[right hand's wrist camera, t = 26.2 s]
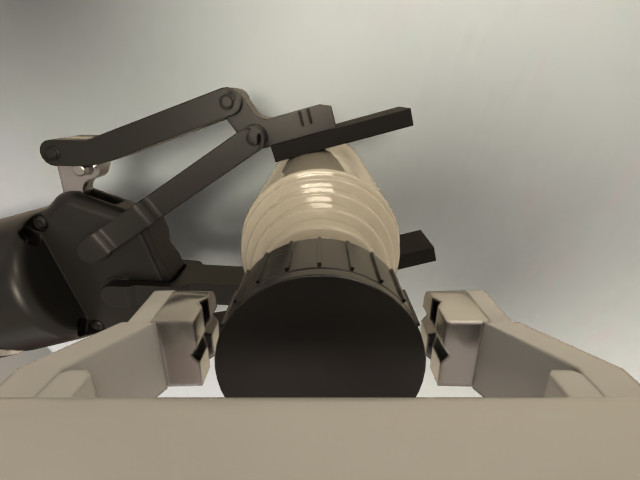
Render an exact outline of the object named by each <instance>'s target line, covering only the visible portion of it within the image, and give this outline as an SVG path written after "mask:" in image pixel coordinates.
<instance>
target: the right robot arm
mask: <svg viewBox="0 0 640 480" xmlns="http://www.w3.org/2000/svg"><path fill="white" fill-rule="evenodd" d="M216 307H217V303H216V296H215V294H214V292H213V291H175V290H163V291H154V292H153V293H152V295H151V296H150V297H149V298H148V299H147V300H146V302H145V303H144V304H143V305H142V306H141V307H140V308H139V310H138V311H137V312H136V313H135V314H134V315H133V317H132V318H131V319H130V320H129V321H128V322H121V323H119V324H116V325H114V326H112V327H110V328H107V329H105V330H103V331H101V332H98V333H96V334H94V335H92V336H89V337H87V338H85V339H83V340H80V341H78V342H76V343H74V344H71V345H69V346H67V347H65V348H63V349H60V350H58V351H56V352H54V353H51V354H49V355H47V356H45V357H42V358H40V359H38V360H36V361H33V362H31V363H29V364H27V365H24V366H22V367H20V368H18V369H17V370H15V371H14V372H13V373H12V374H11V375H10V376H9V377H8V378H6V379H5V380H4V381H3V382H2V383H1V384H0V480H640V384H639V383H638V382H637V381H636V380H635V379H634V378H633V377H632V376H630V375H629V374H628V373H627V372H626V371H625V370H624V369H622V368H620V367H618V366H615V365H613V364H611V363H609V362H606V361H604V360H602V359H600V358H597V357H595V356H593V355H591V354H589V353H586V352H584V351H582V350H580V349H577V348H575V347H573V346H571V345H568V344H566V343H564V342H562V341H559V340H557V339H555V338H553V337H551V336H548V335H546V334H544V333H542V332H539V331H537V330H535V329H533V328H530V327H528V326H526V325H524V324H522V323H519V322H512V321H511V320H510V319H509V318H508V316H507V315H506V314H505V313H504V312H503V311H502V310H501V308H500V307H499V306H498V305H497V304H496V303H495V302H494V300H493V299H492V298H491V297H490V296H489V295H488V293H487V292H486V291H483V290H473V291H466V290H464V291H429V292H426V294H425V297H424V303H423V307H424V309H425V311H426V313H427V315H426V316H425V317H424V319H423V320H422V321H421V335H422V339H423V343H424V346H425V355H426V356H427V357H428V358H430V359H431V364H430V368H431V370H432V373H433V375H434V378H435V380H436V382H437V385H438V386H472V387H473V389H474V390H475V391H477V392H478V393H479V394H480V395H481V396H483V397H195V398H194V397H192V398H191V397H189V398H187V397H186V398H156V397H158V396H159V395H160V394H161V393H162V392H164V391H165V390H166V389H167V387H168V386H202V385H203V383H204V380H205V378H206V375H207V373H208V371H209V368H210V363H209V359H210V358H212V357H213V356H215V350H216V344H217V341H218V337H219V321H218V320H217V318H216V317H215V316H214V315H213V313H214V311H215V309H216Z"/></svg>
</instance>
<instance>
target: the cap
mask: <svg viewBox="0 0 640 480" xmlns="http://www.w3.org/2000/svg"><path fill="white" fill-rule="evenodd" d="M418 326H420V323H419V321H418V319H417V316H416V314H415V312H414V310H413V307H412V305H411V303H410V300H409V298H408V296H407V293H406V291H405V289H404V290H402V288H401V286H400V284H399V281H398V279H397V277H396V274H395V272H394V270H393V269H392V268H391V269H389V267H388V266H387V265H386V264H385V263H384V262H383V261H382V260H380V259H379V258H378V257H377V256H376V255H375V253H374V252H373V251H372V252H369V251H368V250H366V249H364V248H362V247H360V246H358V245H355V244H352V243H350V241H348V240H346V241H341V240H336V239H327V238H321V237H318V238H313V239H305V240H299V241H295V242H293V241H290V242H289V243H288V244H285V245H283V246H281V247H279V248H277V249H275V250H273V251H271V252H270V253H268V252H266V253H265V255H264V257H263V258H261V259H260V260H259V261H258V262H257V263H256V264H255V265H254V266H253V267H252V268H251V269H250V270H249V269H247V271H246V273H245V275H244V277H243V280H242V282H241V284H240V287H239V289H238V291H236V290H235V293H234V295H233V297H232V300H231V302H230V304H229V306H228V309H227V311H226V313H225V315H224V318H223V320H222V322H221V325H220V327H222V329H221V331H220V334H219V337H218V341H217V344H216V350H215V370H216V375H217V380H218V383H219V386H220V388H221V391H222V393H223V395H224V396H225V397H416V396H417V394H418V392H419V390H420V387H421V385H422V382H423V378H424V373H425V366H426V355H425V346H424V343H423V339H422V335H421V333H420V331H419V328H418Z"/></svg>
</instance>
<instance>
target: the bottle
mask: <svg viewBox="0 0 640 480" xmlns="http://www.w3.org/2000/svg"><path fill="white" fill-rule="evenodd" d="M318 237H321V238H327V239H336V240H341V241H346V240H348V241H350V243H352V244H355V245H358V246H360V247H362V248H364V249H366V250H368V251H369V252H372V251H373V252H374V253H375V255H376V256H377V257H378V258H379V259H380V260H382V261H383V262H384V263H385V264H386V265H387V266H388V267H389V269H391V268H392V269H393V270H394V272H395V274H396V272H397V269H398V264H399V259H400V236H399V229H398V225H397V221H396V218H395V216H394V213H393V211H392V210H391V208H390V206H389V204H388V203H387V201H386V200H385V198H384V196H383V195H382V193H381V192H380V190H379V188H378V187H377V185H376V184H375V182H374V180H373V179H372V177H371V176H370V174H369V172H368V171H367V169H366V168H365V166H364V165H363V163H362V161H361V160H360V158H359V157H358V155H357V154H356V153H355V151H354V150H353V149H352V148H351V147H350V146H348V145H347V144H342V145H338V146H335V147H331V148H327V149H323V150H320V151H316V152H312V153H309V154H305V155H301V156H297V157H294V158H290V159H286V160H283V161H280V162H279V163H278V165H277V166H276V168H275V170H274V171H273V173H272V174H271V176H270V177H269V179H268V181H267V182H266V184H265V185H264V187H263V189H262V190H261V192H260V193H259V195H258V196H257V198H256V200H255V201H254V203H253V204H252V206H251V207H250V209H249V211H248V214H247V216H246V218H245V221H244V224H243V229H242V235H241V258H242V265H243V269H244V272H245V273H246V271H247V269H249V270H250V269H251V268H252V267H253V266H254V265H255V264H256V263H257V262H258V261H259V260H260V259H261V258H263V257H264V255H265V253H266V252H268V253H270V252H271V251H273V250H275V249H277V248H279V247H281V246H283V245H285V244H288V243H289V242H290V241H293V242H295V241H299V240H305V239H313V238H318Z"/></svg>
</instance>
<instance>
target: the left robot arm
mask: <svg viewBox="0 0 640 480" xmlns="http://www.w3.org/2000/svg"><path fill="white" fill-rule="evenodd" d="M226 119H227V120H228V121H229V123H230V124H231V125H232V127H233V128H234V129H235V131H236V132H237V133H236V134H235V135H233V136H232V137H230V138H229V139H227V140H226V141H225V142H223V143H222V144H220V145H219V146H218V147H216V148H215V149H213V150H212V151H210V152H209V153H208V154H206V155H205V156H203V157H202V158H201V159H199V160H198V161H196V162H195V163H193V164H192V165H191V166H189V167H188V168H186V169H185V170H184V171H182V172H181V173H179V174H178V175H176V176H175V177H174V178H172V179H171V180H169V181H168V182H167V183H165V184H164V185H162V186H161V187H159V188H158V189H157V190H155V191H154V192H152V193H151V194H150V195H148V196H147V197H145V198H144V199H142V200H141V201H139V202H138V203H134V202H132V201H129V200H126V199H123V198H120V197H117V196H114V195H112V194H109V193H106V192H103V191H100V190H97V189H95V188H93V182H94V180H95V179H96V178H98V177H101V176H104V175H105V174H107V172H108V171H109V166H110V161H113V160H116V159H119V158H122V157H126V156H129V155H132V154H135V153H138V152H140V151H143V150H146V149H148V148H151V147H154V146H156V145H159V144H162V143H164V142H167V141H170V140H172V139H175V138H178V137H180V136H183V135H186V134H188V133H191V132H194V131H196V130H199V129H202V128H204V127H207V126H210V125H212V124H215V123H218V122H220V121H223V120H226ZM409 126H413V120H412V114H411V108H404V107H396V108H393V109H389V110H385V111H382V112H378V113H374V114H371V115H367V116H363V117H360V118H356V119H353V120H349V121H345V122H342V123H338V124H335V120H334V116H333V112H332V108H331V106H328V105H321V104H319V105H316V106H312V107H309V108H305V109H301V110H298V111H294V112H291V113H287V114H284V115H280V116H276V117H266V116H263V115H262V114H260V113H259V112H258V110H257V109H256V108H255V106H254V105H253V103H252V102H251V101H250V99H249V96H248V94H247V93H246V92H245V91H244V90H242V89H238V88H229V87H225V88H220V89H218V90H215V91H213V92H210V93H207V94H205V95H202V96H200V97H197V98H194V99H192V100H189V101H187V102H184V103H182V104H179V105H176V106H174V107H171V108H169V109H166V110H163V111H161V112H158V113H156V114H153V115H151V116H148V117H145V118H143V119H140V120H138V121H135V122H132V123H130V124H127V125H125V126H122V127H119V128H117V129H114V130H112V131H109V132H107V133H104V134H101V135H77V136H71V137H64V138H58V139H52V140H47V141H44V142H43V143H42V144H41V146H40V153H41V156H42V158H43V159H44V160H45V161H46V162H47V163H49V164H50V165H54V166H58V170H59V174H60V178H61V183H62V187H63V191H64V193H62V194H60V195H59V196H58V197H56V199H55V200H54V201H53V203H52V204H51V205H49V206H47V207H43V208H40V209H36V210H32V211H29V212H25V213H22V214H18V215H14V216H11V217H7V218H3V219H0V358H1V357H6V356H11V355H15V354H18V353H21V352H23V351H28V350H34V349H39V348H43V347H47V346H51V345H56V344H60V343H64V342H68V341H73V340H77V339H81V338H84V337H88V336H91V335H93V334H96V333H98V332H101V331H103V330H105V329H107V328H110V327H112V326H114V325H116V324H119V323H121V322H128V321H129V320H130V319H131V318H132V317H133V315H134V314H135V313H136V312H137V311H138V310H139V308H140V307H141V306H142V305H143V304H144V303H145V302H146V300H147V299H148V298H149V297H150V296H151V295H152V293H153V292H154V291H163V290H175V291H213V292H214V294H215V296H216V303H217V305H229V304H230V302H231V300H232V297H233V295H234V293H235V290H236V291H238V289H239V287H240V284H241V282H242V280H243V277H244V275H245V272H244V269H243V267H238V266H219V265H204V264H202V263H201V262H200V261H192V260H182V259H181V257H180V254H179V252H178V251H177V250H176V249H175V247H174V246H173V245H172V243H171V242H170V236H169V229H168V226H167V224H166V222H165V219H164V217H163V216H164V215H166V214H167V213H169V212H170V211H172V210H173V209H175V208H176V207H177V206H179V205H180V204H182V203H183V202H185V201H186V200H188V199H189V198H191V197H192V196H194V195H195V194H196V193H198V192H199V191H201V190H202V189H204V188H205V187H207V186H208V185H210V184H211V183H213V182H214V181H215V180H217V179H218V178H220V177H221V176H223V175H224V174H226V173H227V172H229V171H230V170H232V169H233V168H234V167H236V166H237V165H239V164H240V163H242V162H243V161H245V160H246V159H248V158H249V157H251V156H252V155H253V154H255V153H256V152H258V151H260V150H261V149H262V148H266V147H270V146H271V148H272V152H273V155H274V158H275V162H279V161H283V160H286V159H290V158H294V157H297V156H301V155H305V154H309V153H312V152H316V151H320V150H323V149H327V148H331V147H335V146H338V145H342V144H346V143H349V142H353V141H357V140H361V139H364V138H368V137H372V136H375V135H379V134H383V133H387V132H390V131H394V130H398V129H401V128H405V127H409ZM399 236H400V259H399V264H398V269H402V268H406V267H411V266H415V265H419V264H423V263H428V262H432V261H436V257H435V251H434V247H433V246H432V244H431V243H430V242H429V240H428V239H427V238H426V236H425V235H424V234H423V232H422V231H421V230H418V231H414V232H410V233H406V234H402V235H399ZM398 269H397V270H398ZM225 313H226V311H221V312H215V313H213V315H214V316H215V317H216V318H217V320H218V321H219V334H220V331H221V329H222V327H220V325H221V322H222V320H223V318H224V315H225Z"/></svg>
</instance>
